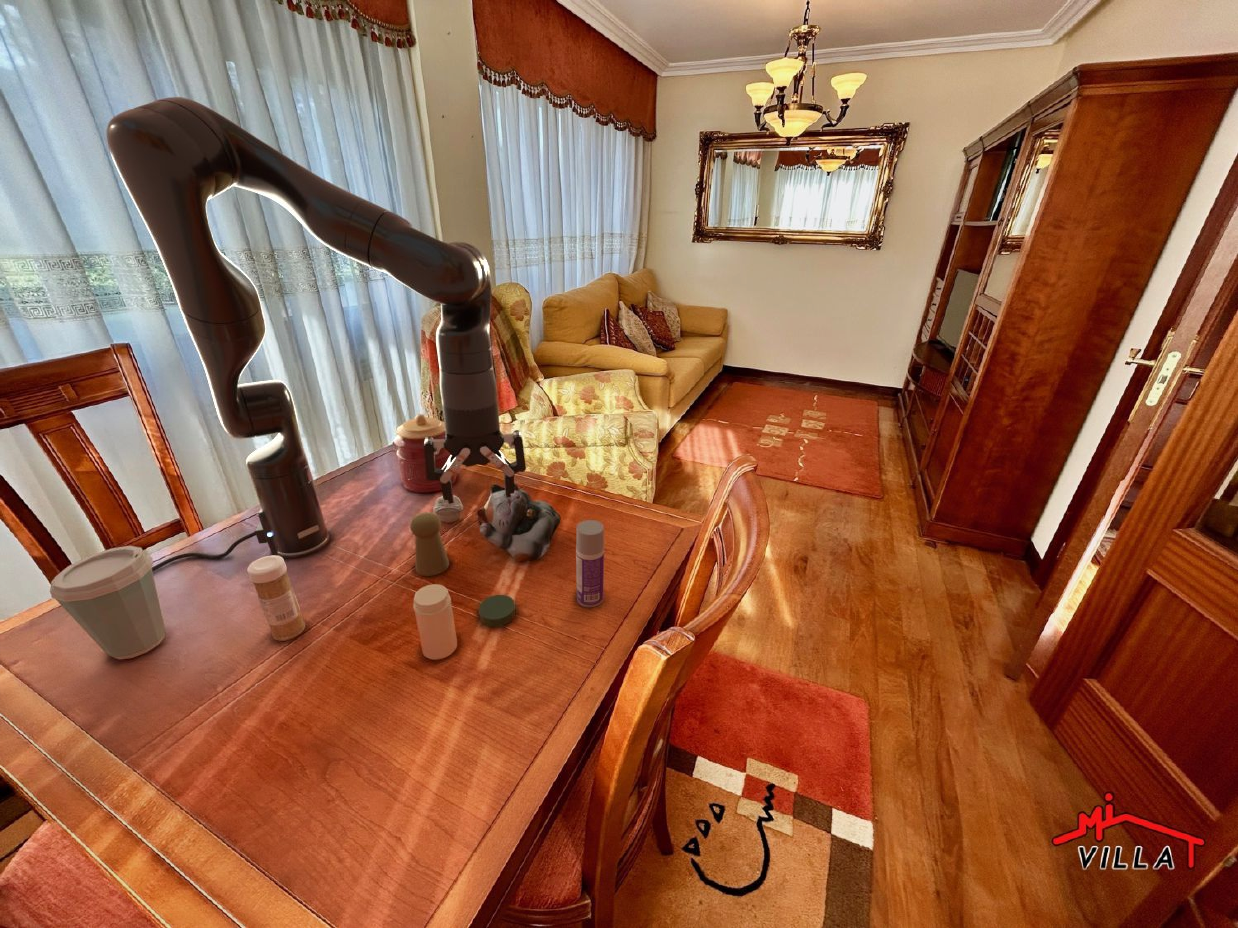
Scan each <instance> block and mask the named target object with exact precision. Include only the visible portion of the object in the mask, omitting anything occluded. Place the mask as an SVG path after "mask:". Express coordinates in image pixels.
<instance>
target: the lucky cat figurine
mask: <svg viewBox="0 0 1238 928" xmlns="http://www.w3.org/2000/svg"><path fill="white" fill-rule="evenodd" d="M514 485H515V491H514V493H512V494H511V497H507V498H506V493H505V486H504V487H503V486H502V485H499V484H492V485H491V486H490V492H489V496H488V500H487V501H486V503H485V505H484V506H483V507H481V508H477V509H476V511H475V515H476V520H477V523H478V526H479V533H480V535H481V536H482V537H483V538H484V539H485V540H486V541H487V542H489V543H491V544H492V545H494V546H496V547H498V548H499V549H502V550H503V551H505V552H507V553H509V554H510V555H511V557H512V558H513V559H514V560H516V561H519V562H529V561H535V560H537V559H539V558H542V557H544V556H545V555H546V553H547V552H548V551H549V549H550V546H551V541H552V538H553V536H554V535H555V532H556V530H557V529H558V527H559V526H560V524H561V520H562V517H561V514H559V513H558V512H557V511H556V509H555V508H554V507H553V506H552V505H551V504H550V503H548V502H546V501H544V500H532V496H531V495H530V494H529V493H527V491H525V490H524V489H521V488H519V486H518V484H517V483H515V482H514Z"/></svg>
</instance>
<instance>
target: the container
mask: <svg viewBox="0 0 1238 928" xmlns="http://www.w3.org/2000/svg"><path fill="white" fill-rule="evenodd" d="M575 542H576V543H575V544H576V545H575V567H576V568H575V570H576V571H575V573H576V574H575V575H576V577H575V578H576V579H575V581H576V602H577V603H578V604H579V605H580V606H582V607H583V608H584V607H585V608H595V607H598V606H599V605H601V604H602V602H603V600H604V575H605V526H604V524H603V523H602V522H601V521H599V520H594V519H587V520H582V521H580V522H578V523H577V524H576V540H575Z"/></svg>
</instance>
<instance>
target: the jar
mask: <svg viewBox="0 0 1238 928" xmlns="http://www.w3.org/2000/svg"><path fill="white" fill-rule="evenodd" d="M412 607H413V612H414V617H415V622H416V627H417V631H418V632H417V633H418V636H419V642H420V646H421V651H422V652H421V653H422V655H423V656H424V657H425V658H426V659H429V660H435V661H437V660H442V659H445V658H447V657H449V656H450V655H452V654H453V653H454V652H455V651H456V649H457V647H458V637H457V630H456V629H457V628H456V625H455V623H456V622H455V618H454V612H453V611H454V609H453V604H452V598H451V595H450V594H449V590H448V588H447V587H446V586H444V585H442V584H440V583H439V584H438V583H437V584H436V583H434V584H427V585H424V586H423V587H421V588H419V589H417V591H416V592H415V594H414V596H413V605H412Z"/></svg>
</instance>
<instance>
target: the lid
mask: <svg viewBox="0 0 1238 928" xmlns="http://www.w3.org/2000/svg"><path fill="white" fill-rule="evenodd" d="M515 602H516V601H514V599H513V598H512V597H511V596H509V595H507V594H493V595H490V596H488V597H485V598H484V599H483V600H482V601H481V602H480V604H479V605H478V618H479V621H480V622H481V623H482V624H483V625H484V626H486V627H489V628H499V627H503V626H506V625H507V624H509V623H510V622H511V621H513V619H515V616H516V614H517V611H516V603H515Z"/></svg>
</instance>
